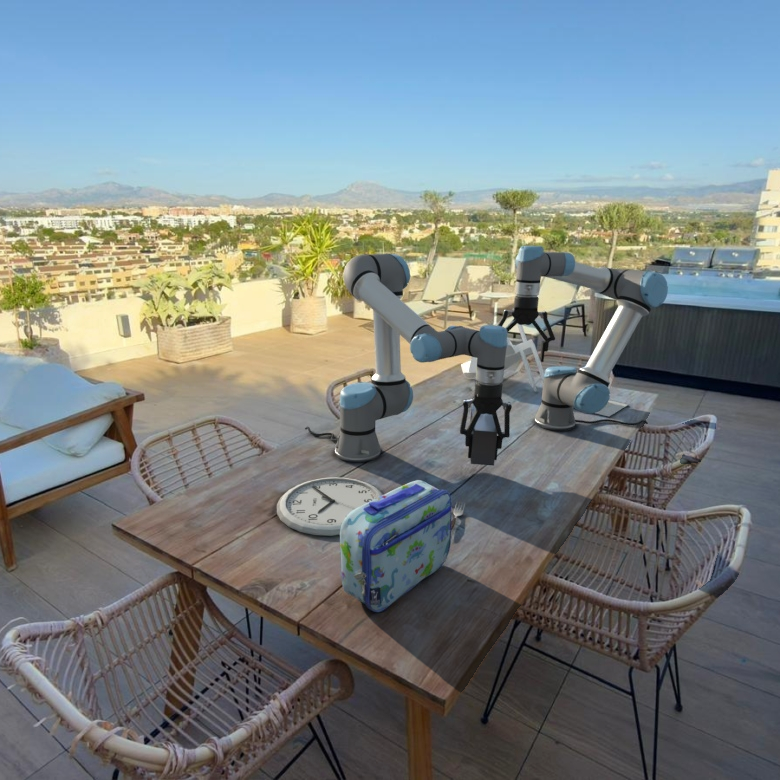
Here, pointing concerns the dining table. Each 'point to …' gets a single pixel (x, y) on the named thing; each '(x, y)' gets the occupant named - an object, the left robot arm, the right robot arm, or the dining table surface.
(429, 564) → the lunch box
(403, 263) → the left robot arm
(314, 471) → the dining table surface
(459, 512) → the fork
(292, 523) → the wall clock
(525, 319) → the right robot arm
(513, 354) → the white plastic object
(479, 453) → the box
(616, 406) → the invitation card
